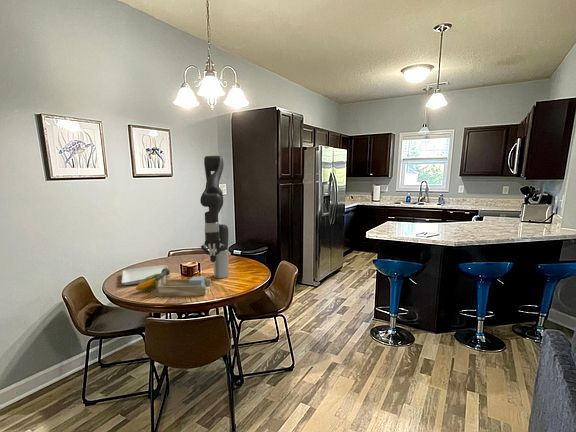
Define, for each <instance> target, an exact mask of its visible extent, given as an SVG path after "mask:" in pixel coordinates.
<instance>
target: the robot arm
mask: <svg viewBox="0 0 576 432" xmlns="http://www.w3.org/2000/svg"><path fill="white" fill-rule="evenodd" d="M203 164H204V171H205V172H204V173H205V179H206V183H205V188H204V190H203V192H202V193H201V196H200V198H199V199H200V205H201V206H202V207H205V208H208V210H207V211H205V212H204V238H205V239H204V243H203V244H202V245H201V246H200V248H201V250H203V252H204V253H205V254H206V255H209V257H210V262H211V263H213V277H214V278H215V279H225V278H228V277H229V275H230V274H229V273H230V271H229V267H230V266H229V227H228V225H226V224H220V223H219V213H220V211H221V210H222V208H223V206H224V196H223V195H224V194H223V191H222V189H221V188H220V180H221V177H222V173H223V171H224V159H223V156H222V155H206V156H204V159H203Z"/></svg>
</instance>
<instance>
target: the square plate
mask: <svg viewBox="0 0 576 432" xmlns="http://www.w3.org/2000/svg"><path fill="white" fill-rule="evenodd" d="M164 268H168V269H169V267H168V265H167V264H161V265H152V266H143V267H137V268H136V267H135V268H130V269H129V268H128V269H124V270H122V271H121V273H122V274H121V282H120V283H121V285H124V286H129V285H130V286H131V285H138V284H140V283H141V282H143V281H145V280H147V279H145V278H146V277H149V276H152V275H154V274H160V273H162V270H163V269H164ZM153 277H154V276H153ZM170 277H172V273H171V272H170V274H169V275H167V279H169V278H170ZM150 278H151V277H150ZM148 279H149V278H148Z"/></svg>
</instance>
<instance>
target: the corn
mask: <svg viewBox="0 0 576 432" xmlns="http://www.w3.org/2000/svg"><path fill="white" fill-rule="evenodd" d="M158 275H159V274H154V275H152V276H149V277H146V278H145V279H147V280H145V281H143V282H141V283H139V284H136V287H135V290H137V291H144V292H151V291H153V290H156V283H155V281H156V280H155V277H156V276H158ZM153 276H154V277H153ZM150 277H151V278H150ZM148 278H149V279H148Z"/></svg>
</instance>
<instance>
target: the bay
mask: <svg viewBox="0 0 576 432" xmlns="http://www.w3.org/2000/svg"><path fill="white" fill-rule="evenodd" d="M170 273H171V271H170V269H169V267H168V268H164V269H163V270H162V273H160V274H159V275H158V276H156V277H155V280H156V281H155V283H156V289H155V296H156V297H174V296H176V297H177V296H179V297H181V296H187V297H188V296H189V297H190V296H206V295H207V294H208V292H209V291H210V289H211V287H212V280H211V279H212V278H205V279H204V281H205V285H198V286H189V280H190V279H191V278H180V279H179V278H175V279H173V278H170V279H169V278H168V279H167V275H169V274H170Z"/></svg>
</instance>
